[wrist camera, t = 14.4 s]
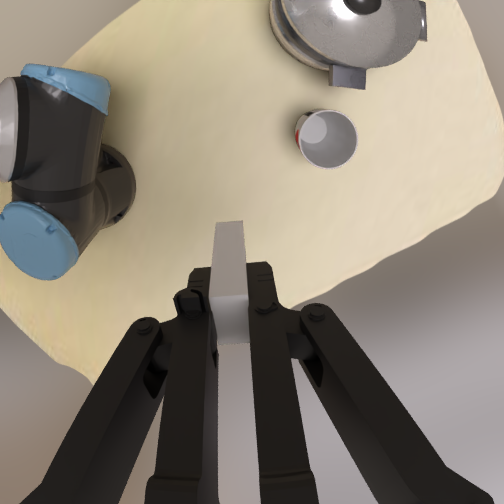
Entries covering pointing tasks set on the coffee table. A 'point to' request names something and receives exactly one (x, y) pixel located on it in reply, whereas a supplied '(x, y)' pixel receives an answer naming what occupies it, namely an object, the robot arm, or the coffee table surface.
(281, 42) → the cooker
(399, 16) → the lid
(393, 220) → the coffee table surface
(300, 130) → the cup
